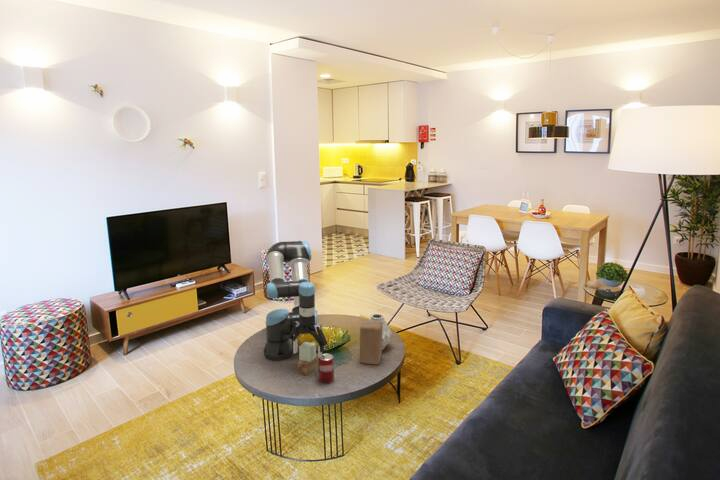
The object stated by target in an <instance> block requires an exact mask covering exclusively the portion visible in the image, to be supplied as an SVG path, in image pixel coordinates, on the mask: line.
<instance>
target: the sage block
mask: <svg viewBox="0 0 720 480" xmlns="http://www.w3.org/2000/svg"><path fill="white" fill-rule="evenodd" d="M298 353H299V354H298V355H299V356H298V357H299V358H298V359H299V361H300V360H303V361H308V362H311V361H312V360H313V359H314V358H315V357H316V354H317V342H316V343H315V342H309V341H304V342H303V343H301V344H300V345H299V346H298Z"/></svg>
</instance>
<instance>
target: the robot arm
mask: <svg viewBox="0 0 720 480" xmlns="http://www.w3.org/2000/svg"><path fill="white" fill-rule="evenodd" d="M311 252H312V251H311V246H310V243H309V242H308V241H306V240H294V241H293V240H291V241H278V242H276V243H274V244H272V246H270V247H269V248H268V250H267V252H266V253H265V254H266V255H265V261H266V263H267V266H268V273H269V275H268V277H269V282H267V283H266V297H267V298H268V299H281V298H293V304H294V306H293V308H292V309H291V312H290V311H289V310H288V309H286V308H279V309H273V310H272V311H270V312H268V313H267V314H266V317H265V325H266V327H265V329H266V330H265V332H266V334H265V335H266V342H265V345H264V348H263V357H264V358H266V359H267V360H270V361H282V360H286V359H289V358H291V357H292V355H293V354H297V353H299V346H298V337H299V336H300V335H305V334H306V335H309V334H310V335H311V336H312V337H313V339H314V340H315V341H316V344H318V346H317V354H318V358H319V356H320V355H322V354H323V352H324V350H325V348H324V347H326V346H327V344H328V341H327V338H326V337H325V334H324V332H323V330H322V329H323V328H322V325H321V324H318V310H316V304H315V303H316V297H315V296H316V295H315V294H316V287H315V284H314V283H313V282H311V281H310V280H309V275H308V274H309V273H308V265H309V264H310V262H311V260H312V253H311ZM283 263H287V264H288V266H289V267H290V268H291V279H292V281H286V277H285V270H284V264H283Z"/></svg>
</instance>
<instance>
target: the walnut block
mask: <svg viewBox="0 0 720 480" xmlns="http://www.w3.org/2000/svg"><path fill="white" fill-rule="evenodd" d="M317 367H318V353H316V357H315V358H314V359H313V360H312V361H311V362H308V361H303V360H299V361H298V362H297V374H299V375H303V376H306V377H307V376H308V375H310V373H311V372H313V371H314V370H315V369H316V368H317Z"/></svg>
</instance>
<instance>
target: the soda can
mask: <svg viewBox="0 0 720 480" xmlns="http://www.w3.org/2000/svg"><path fill="white" fill-rule="evenodd" d="M317 367H318V370H317V372H318V381H319V383H321V384H324V385H327V384H331V383H333V382H334V380H335V356H334V355H333V354H330V353H322V355H320V356H319V358H318V366H317Z"/></svg>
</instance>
